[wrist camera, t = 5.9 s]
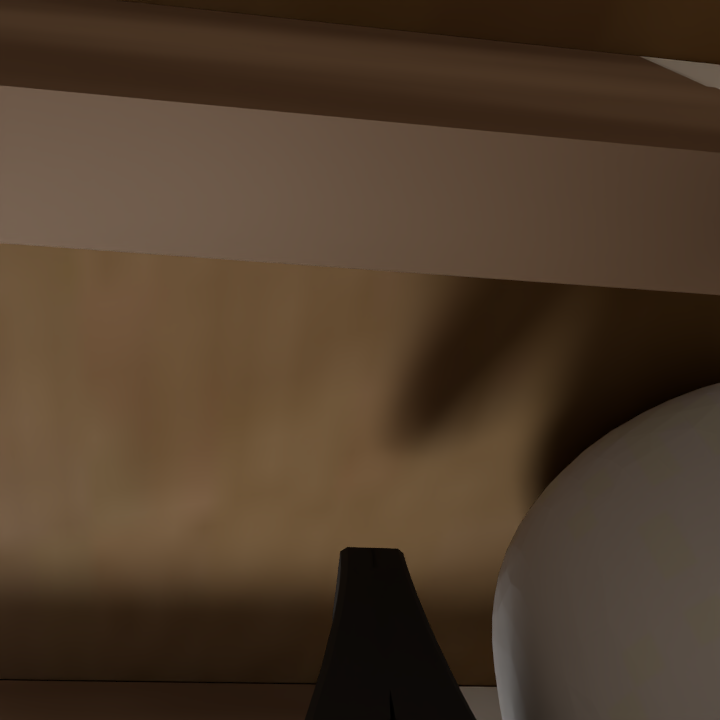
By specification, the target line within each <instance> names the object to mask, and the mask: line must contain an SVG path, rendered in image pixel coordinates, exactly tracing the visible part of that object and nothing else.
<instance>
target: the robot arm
mask: <svg viewBox="0 0 720 720" xmlns="http://www.w3.org/2000/svg"><path fill="white" fill-rule="evenodd" d="M305 720H476V718H475V716H474V714H473V712H472V711H471V709H470V707H469V705H468V703H467V701H466V699H465V698H464V696H463V694H462V692H461V690H460V688H459V686H458V684H457V682H456V680H455V678H454V676H453V674H452V672H451V670H450V668H449V666H448V664H447V662H446V659H445V657H444V655H443V653H442V651H441V649H440V647H439V645H438V643H437V641H436V638H435V636H434V634H433V632H432V629H431V627H430V625H429V623H428V620H427V618H426V615H425V613H424V610H423V608H422V606H421V603H420V601H419V598H418V596H417V593H416V590H415V588H414V585H413V582H412V580H411V577H410V574H409V571H408V568H407V565H406V561H405V558H404V554H403V553H402V552H401V551H400V550H399V549H391V548H357V547H347V548H345V549H344V550H342V551H340V559H339V567H338V575H337V584H336V592H335V600H334V608H333V623H332V627H331V631H330V635H329V639H328V643H327V647H326V651H325V655H324V659H323V663H322V666H321V670H320V673H319V676H318V679H317V683H316V686H315V689H314V692H313V695H312V698H311V701H310V705H309V708H308V711H307V714H306V717H305Z"/></svg>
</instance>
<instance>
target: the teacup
mask: <svg viewBox="0 0 720 720" xmlns="http://www.w3.org/2000/svg"><path fill="white" fill-rule="evenodd" d="M492 645H493V657H494V667H495V674H496V682H497V690H498V697H499V703H500V709H501V715H502V720H720V383H717V384H714V385H710V386H706V387H703V388H700V389H697V390H694V391H692V392H689V393H686V394H684V395H681V396H679V397H676V398H674V399H671V400H668V401H666V402H664V403H662V404H660V405H658V406H656V407H654V408H652V409H650V410H648V411H645V412H643V413H642V414H640V415H638V416H636V417H635V418H633V419H631V420H629V421H628V422H626V423H624V424H622V425H621V426H619V427H617V428H615V429H614V430H612V431H610V432H609V433H608V434H606V435H605V436H604V437H602V438H601V439H599V440H598V441H597V442H595V443H594V444H593V445H591V446H590V447H588V448H587V449H586V450H584V451H583V452H582V453H581V454H580V455H579V456H578V457H577V458H576V459H575V460H574V461H573V462H572V463H570V464H569V465H568V466H567V467H566V468H565V469H564V470H563V471H562V472H561V473H560V474H559V475H558V476H557V477H556V478H555V479H554V480H553V481H552V482H551V483H550V484H549V485H548V486H547V487H546V488H545V490H544V491H543V492H542V494H541V495H540V496H539V498H538V499H537V500H536V502H535V503H534V504H533V506H532V507H531V508H530V510H529V511H528V512H527V514H526V516H525V517H524V519H523V520H522V522H521V523H520V525H519V527H518V529H517V531H516V533H515V535H514V537H513V539H512V541H511V543H510V545H509V547H508V549H507V551H506V554H505V557H504V560H503V563H502V566H501V569H500V572H499V576H498V581H497V586H496V591H495V597H494V606H493V615H492Z"/></svg>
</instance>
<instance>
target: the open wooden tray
mask: <svg viewBox="0 0 720 720" xmlns="http://www.w3.org/2000/svg"><path fill="white" fill-rule="evenodd" d="M0 243H7V244H21V245H35V246H48V247H62V248H76V249H90V250H104V251H117V252H131V253H145V254H159V255H173V256H187V257H200V258H214V259H228V260H242V261H256V262H269V263H283V264H297V265H311V266H325V267H339V268H352V269H366V270H380V271H394V272H408V273H422V274H435V275H449V276H463V277H477V278H491V279H504V280H518V281H532V282H546V283H560V284H574V285H587V286H601V287H615V288H629V289H643V290H656V291H670V292H684V293H698V294H712V295H720V89H718V88H715V87H707V86H705V85H702V84H700V83H698V82H696V81H694V80H691V79H689V78H687V77H685V76H682V75H680V74H678V73H676V72H674V71H671V70H669V69H667V68H665V67H662V66H660V65H658V64H656V63H654V62H651V61H649V60H647V59H645V58H642V57H640V56H634V55H624V54H615V53H606V52H596V51H587V50H578V49H568V48H559V47H549V46H540V45H531V44H521V43H512V42H503V41H493V40H484V39H475V38H465V37H456V36H446V35H437V34H428V33H418V32H409V31H400V30H390V29H381V28H372V27H362V26H353V25H343V24H334V23H325V22H315V21H306V20H297V19H287V18H278V17H268V16H259V15H250V14H240V13H231V12H222V11H212V10H203V9H194V8H184V7H175V6H165V5H156V4H147V3H137V2H128V1H119V0H0ZM315 686H316V685H309V684H234V683H159V682H84V681H10V680H0V720H305V717H306V714H307V711H308V708H309V705H310V701H311V698H312V695H313V692H314V689H315Z"/></svg>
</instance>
